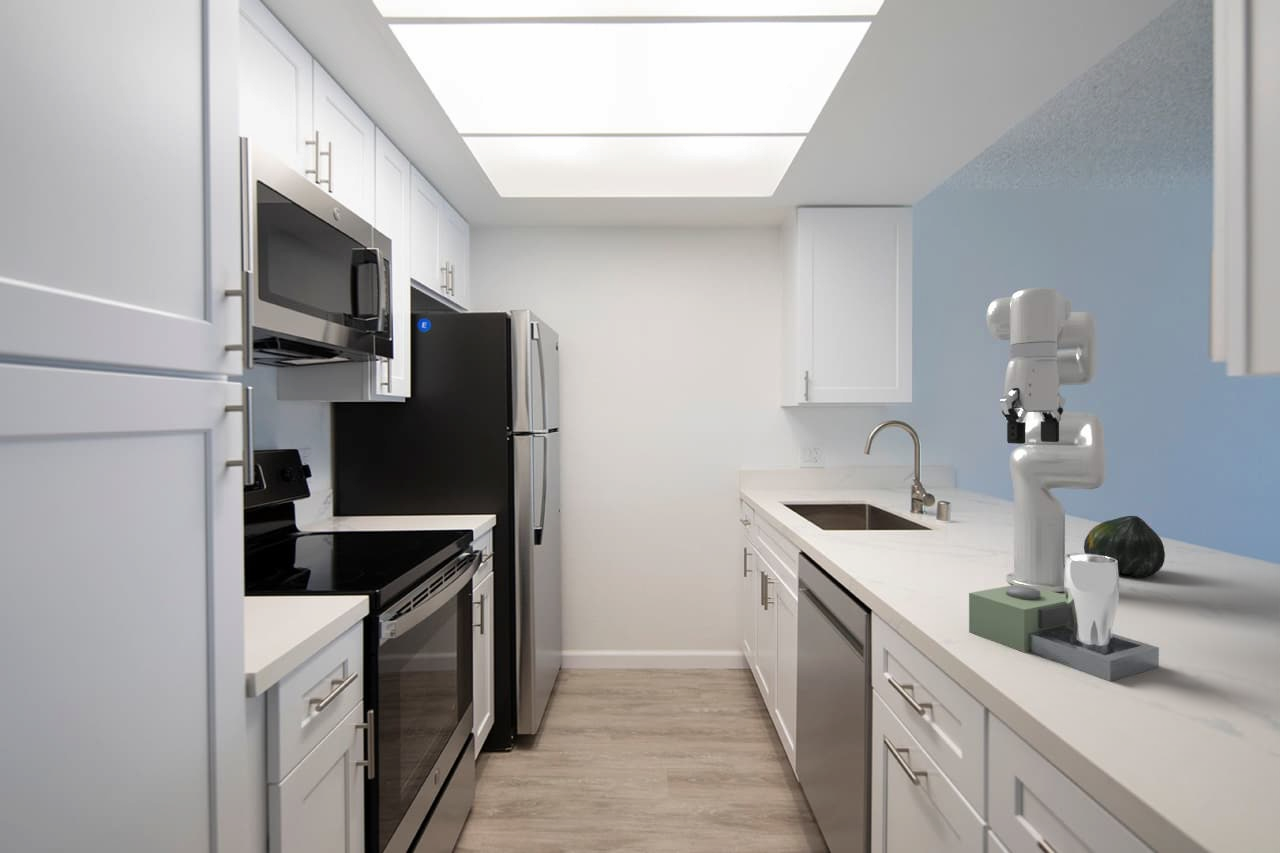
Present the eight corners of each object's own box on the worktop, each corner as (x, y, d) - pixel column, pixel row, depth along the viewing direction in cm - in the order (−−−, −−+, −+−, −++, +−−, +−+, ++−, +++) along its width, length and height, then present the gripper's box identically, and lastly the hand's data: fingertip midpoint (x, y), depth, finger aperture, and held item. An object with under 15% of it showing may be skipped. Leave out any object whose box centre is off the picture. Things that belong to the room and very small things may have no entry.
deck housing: (1022, 620, 111) (1022, 578, 111) (1082, 640, 102) (1082, 593, 101) (969, 631, 106) (969, 587, 106) (1027, 653, 96) (1027, 604, 96)
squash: (1075, 540, 155) (1089, 502, 146) (1147, 546, 149) (1166, 508, 140) (1085, 586, 146) (1100, 550, 136) (1162, 595, 140) (1184, 558, 130)
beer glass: (1068, 640, 99) (1068, 550, 99) (1121, 651, 94) (1122, 557, 94) (1059, 652, 94) (1060, 558, 94) (1115, 665, 89) (1116, 565, 89)
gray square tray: (1075, 639, 102) (1075, 622, 102) (1158, 666, 91) (1158, 647, 91) (1028, 651, 97) (1028, 633, 97) (1110, 681, 86) (1110, 660, 86)
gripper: (1043, 356, 121) (1043, 440, 122) (984, 354, 114) (984, 443, 115) (1082, 353, 114) (1082, 441, 115) (1022, 350, 108) (1022, 445, 108)
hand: (1033, 442), depth 115 cm, fingers open, 9 cm apart
